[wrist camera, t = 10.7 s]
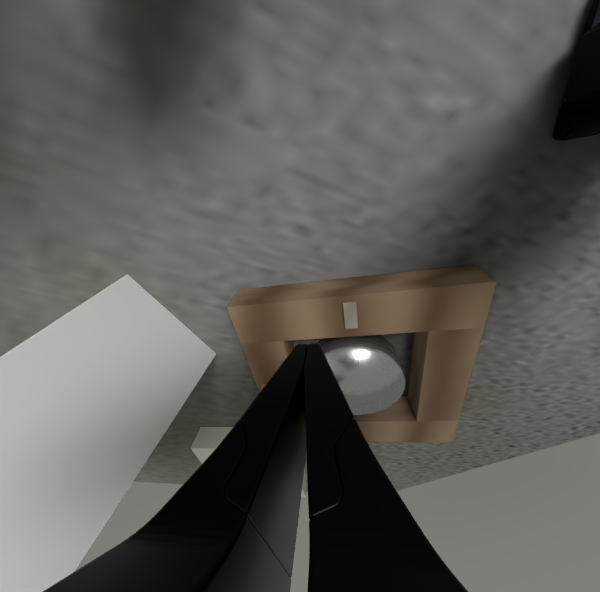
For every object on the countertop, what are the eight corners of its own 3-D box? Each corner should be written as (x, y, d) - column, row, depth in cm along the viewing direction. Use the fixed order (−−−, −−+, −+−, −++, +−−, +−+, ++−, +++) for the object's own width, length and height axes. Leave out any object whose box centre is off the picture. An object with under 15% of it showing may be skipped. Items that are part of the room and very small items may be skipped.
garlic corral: (291, 426, 32) (288, 449, 29) (306, 475, 39) (305, 497, 36) (200, 426, 34) (190, 448, 32) (229, 472, 41) (223, 493, 39)
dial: (393, 323, 22) (422, 389, 15) (398, 386, 26) (422, 459, 19) (260, 342, 24) (237, 405, 18) (284, 396, 29) (272, 463, 22)
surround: (473, 264, 18) (499, 282, 16) (440, 416, 28) (453, 444, 25) (238, 289, 22) (225, 308, 19) (281, 418, 31) (277, 442, 29)
